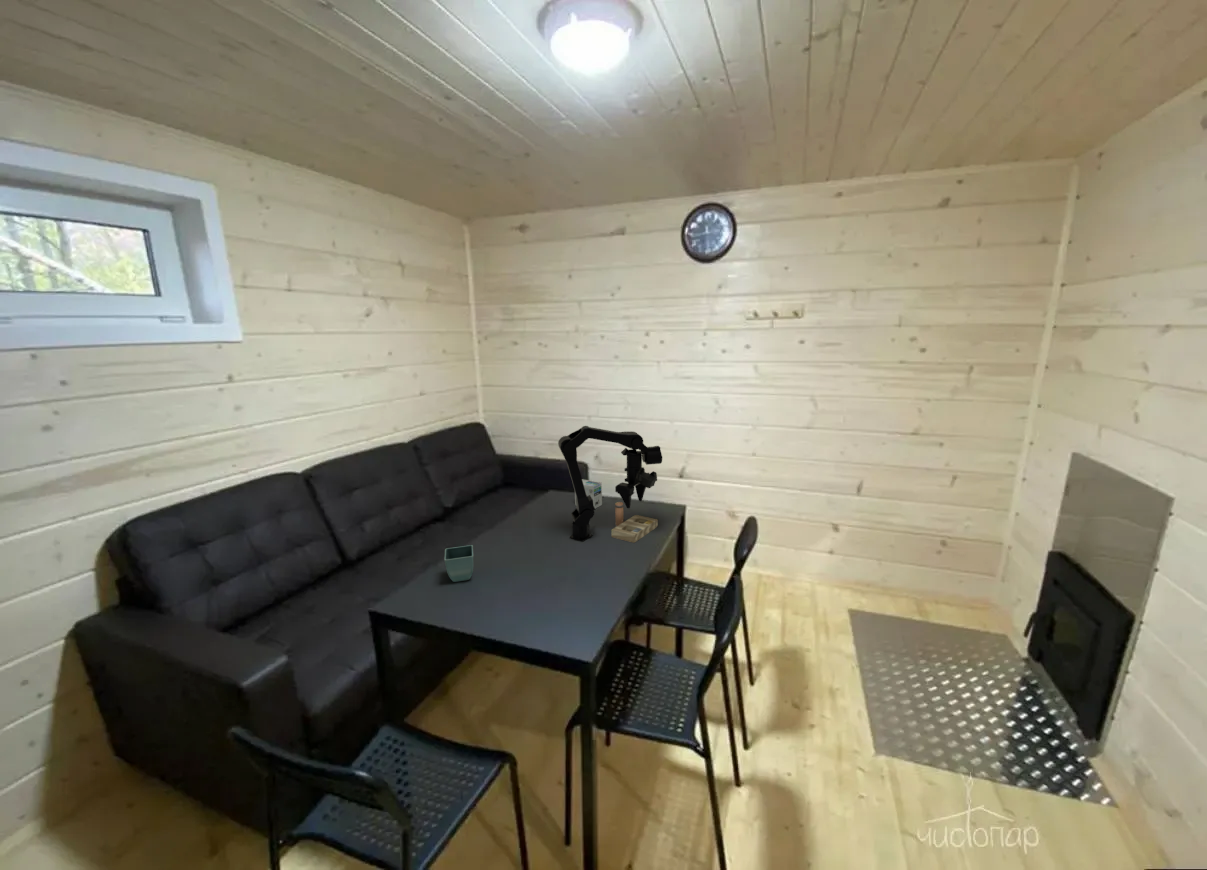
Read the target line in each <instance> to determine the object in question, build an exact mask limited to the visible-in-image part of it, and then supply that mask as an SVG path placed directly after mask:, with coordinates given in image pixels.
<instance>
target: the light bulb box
mask: <svg viewBox="0 0 1207 870" xmlns="http://www.w3.org/2000/svg"><path fill="white" fill-rule="evenodd" d="M582 481H583V485H584V489H585V492H586V495H587V496H589V495H590V496H591V498H592V500H593V505H594V507H595V509H597V508H599V507H601V506H602V505H603V494H602V493H603V491H602V490H603V489H602V487H603V486H602V482H601V481H595V480H588V479H585V478H583V479H582ZM574 506H576V494H575V493H574Z"/></svg>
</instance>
